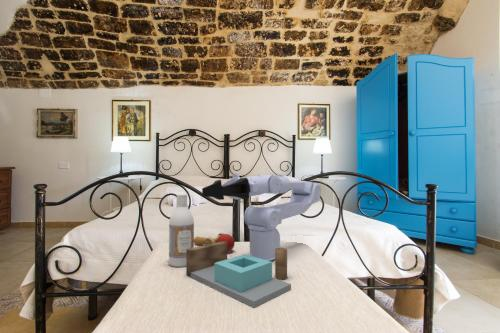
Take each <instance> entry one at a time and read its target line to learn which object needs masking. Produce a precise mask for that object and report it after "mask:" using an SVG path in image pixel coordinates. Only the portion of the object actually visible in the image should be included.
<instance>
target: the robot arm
mask: <svg viewBox="0 0 500 333" xmlns="http://www.w3.org/2000/svg"><path fill="white" fill-rule="evenodd" d="M290 190H291V195H290V200H289V202H284V203H279V204H275V205H271V206H254V205H249V206H248V207H246V209H245V211H244V215H243V216H244V218H243V220H244V223H245V224H246V225H247V229H249V254H248V255H250V256H254V257H257V258H260V259H264V260H267V261H270V262H272V261H275V249H276V248H281V234H280V232H279V230H278V229H277V227H278V225H280V224H282V222H283V220H286V219H288V218H292V217H296V216H298V215H302V214H304V213H306V212H307V211H308V210H309V209H310V207H311V206H313V205H314V204H316V203H318V202H319V201H320V199H321V196H322V188H321V186H320V184H319V183H316V182H315V183H314V182H312V181H308V180H307V181H306V180H290V179H289V178H288V177H286V176H284V174H277V175H276V174H275V173H273V174H272V173H271V174H268V175H267V174H263V175H262V174H261V175H260V174H257V175H256V176H255V175H254V176H247V177H240V174H239V173H234V174H233V173H232V178H230V179H229V180H228V181H226V182H225V183H223V184H222V179H217V180H215V181H213V183H212V184H209V185H207V186H204V187H203V188H201V191H202V193H201V194H202V197H204V198H206V197H207V198H208V197H209V198H214V199H215V200H219V201H222V200H223V201H224V200H225V197H229V198H232V199H234V200H236V201H237V200H248V199H249V198H250V197H254V196H260V195H263V194H273V195H276V194H286V193H288V192H289V191H290Z"/></svg>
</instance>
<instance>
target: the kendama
mask: <svg viewBox="0 0 500 333" xmlns="http://www.w3.org/2000/svg"><path fill="white" fill-rule="evenodd" d="M221 241H224V242H227V253H231V252H232V250H233V249H234V247H235V239H234V237H233V235H230V234H229V233H224V232H221V233H218V235H217V237H215V238H213V237H212V236H208V237H202V236H194V246H195V245H196V246H203V245H208V244H212V243H217V242H221Z"/></svg>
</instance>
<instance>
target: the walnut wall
mask: <svg viewBox="0 0 500 333" xmlns="http://www.w3.org/2000/svg"><path fill="white" fill-rule="evenodd" d="M227 259H228V252H227V242H224V241H221V242H217V243H212V244H208V245H198V246H196V247H195V246H194V248H190V249H187V257H186V266H185V267H186V270H185V271H188V273H189V272H190V273H191V272H194V271H198V270H201V269H204V268H208V267H211V266H214V263H216V262H220V261H223V260H227ZM188 273H187V274H185V275H186V276H187V277H189V278H191V275H190V276H188ZM190 273H189V274H190Z"/></svg>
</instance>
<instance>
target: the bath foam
mask: <svg viewBox="0 0 500 333" xmlns="http://www.w3.org/2000/svg"><path fill="white" fill-rule="evenodd" d="M193 216H194V215H193V214H192V212H191V210H190V209H189V207H188V194H187V193H177V194H176V207H175V208H174V210H173V212H172V213H171V216H170V217H169V223H168V224H169V225H168V263H169V265H170V266H171V267H175V268H182V267H184V268H185V267H186V257H187V249H190V248H194V247H195V244H194V238H195V221H194V217H193Z"/></svg>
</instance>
